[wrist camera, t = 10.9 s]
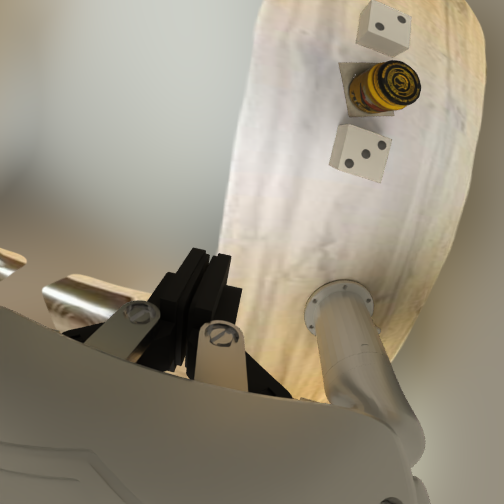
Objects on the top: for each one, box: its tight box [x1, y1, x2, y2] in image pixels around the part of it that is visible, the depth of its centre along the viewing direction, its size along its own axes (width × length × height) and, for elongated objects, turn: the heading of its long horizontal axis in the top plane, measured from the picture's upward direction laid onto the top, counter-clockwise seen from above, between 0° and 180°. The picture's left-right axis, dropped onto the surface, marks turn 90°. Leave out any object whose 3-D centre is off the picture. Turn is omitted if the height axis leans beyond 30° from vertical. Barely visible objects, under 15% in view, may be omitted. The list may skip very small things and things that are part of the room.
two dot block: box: [356, 0, 412, 58], centre depth 25 cm, size 6×6×6 cm
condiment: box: [338, 60, 421, 117], centre depth 26 cm, size 7×8×12 cm
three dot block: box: [329, 124, 392, 183], centre depth 33 cm, size 6×6×6 cm
